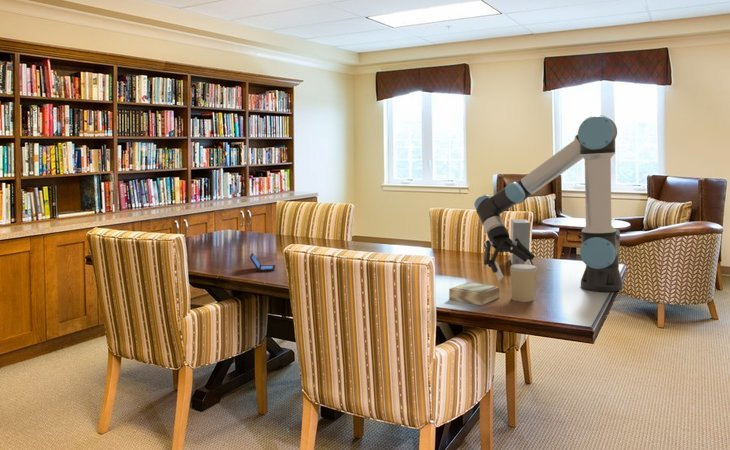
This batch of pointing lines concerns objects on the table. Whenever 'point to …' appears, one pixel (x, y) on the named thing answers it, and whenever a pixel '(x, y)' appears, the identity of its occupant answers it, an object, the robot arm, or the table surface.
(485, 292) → the birch riser
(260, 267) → the handheld game console
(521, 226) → the hard drive box
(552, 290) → the table surface
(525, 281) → the coffee cup
